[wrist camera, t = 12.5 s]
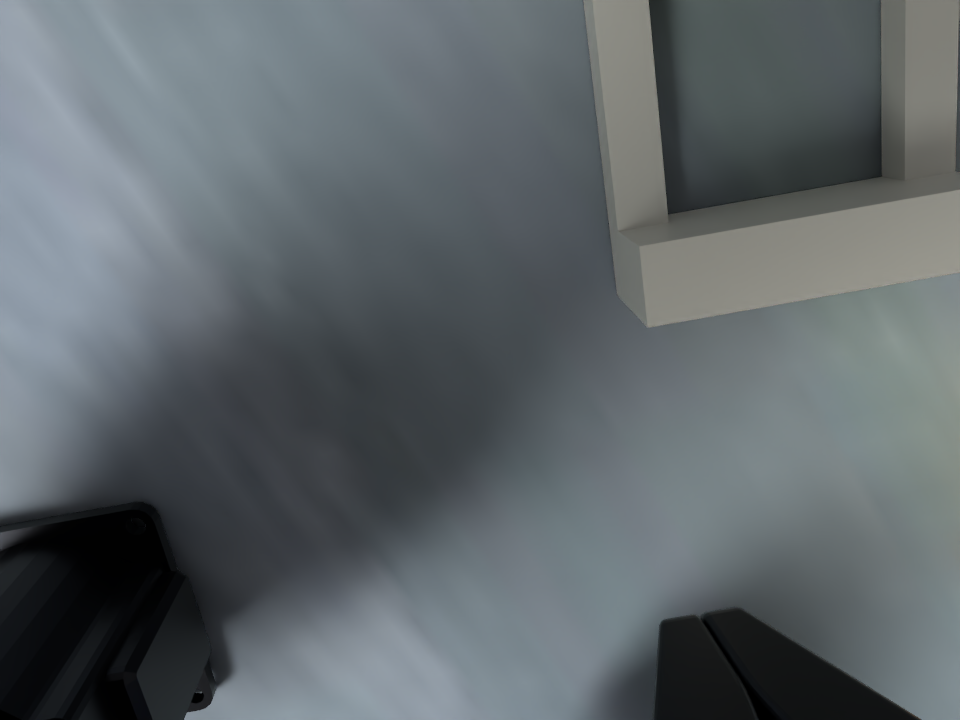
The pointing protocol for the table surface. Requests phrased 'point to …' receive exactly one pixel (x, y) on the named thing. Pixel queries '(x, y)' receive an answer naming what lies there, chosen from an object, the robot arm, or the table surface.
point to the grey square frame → (787, 217)
